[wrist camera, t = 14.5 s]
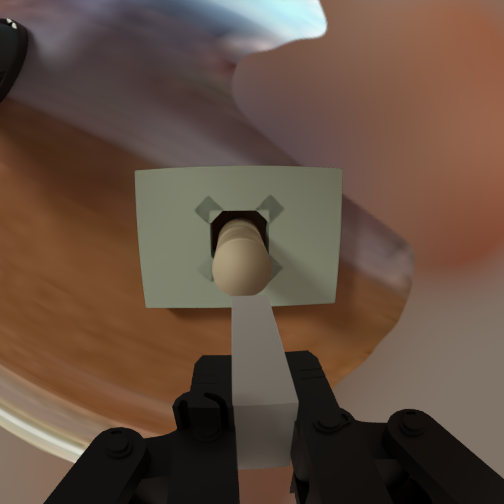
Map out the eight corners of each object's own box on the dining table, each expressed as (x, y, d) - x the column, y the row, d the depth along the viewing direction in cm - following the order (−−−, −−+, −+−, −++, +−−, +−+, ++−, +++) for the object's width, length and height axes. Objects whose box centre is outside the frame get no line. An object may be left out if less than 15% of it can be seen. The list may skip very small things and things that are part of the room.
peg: (219, 254, 32) (212, 299, 21) (219, 215, 31) (209, 240, 20) (258, 253, 32) (272, 298, 21) (259, 214, 31) (273, 239, 20)
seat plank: (152, 296, 33) (146, 307, 30) (143, 170, 29) (134, 170, 27) (326, 292, 34) (334, 302, 31) (332, 168, 31) (342, 168, 28)
